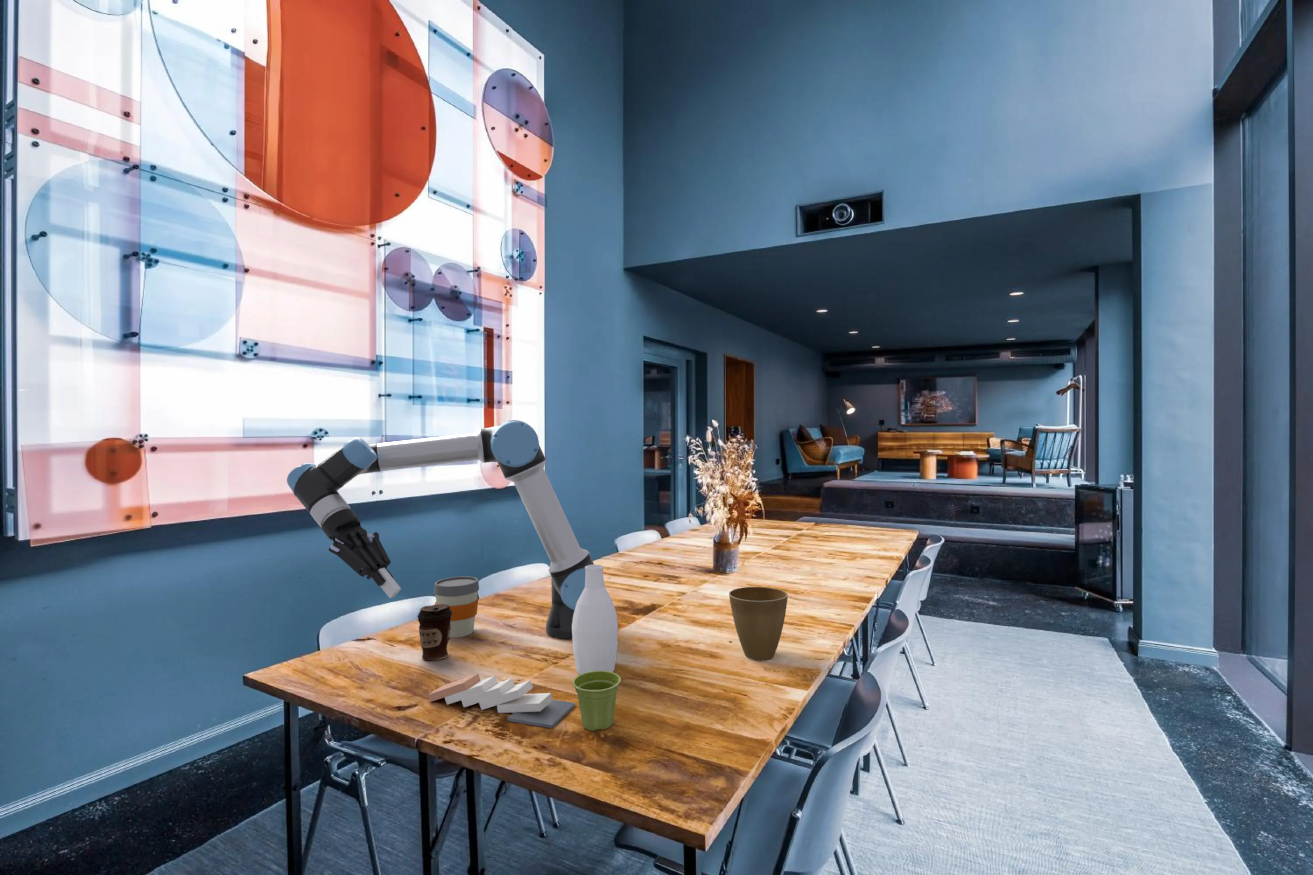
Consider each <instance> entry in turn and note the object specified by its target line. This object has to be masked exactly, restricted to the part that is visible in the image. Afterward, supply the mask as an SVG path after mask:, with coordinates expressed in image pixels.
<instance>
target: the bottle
mask: <svg viewBox="0 0 1313 875" xmlns="http://www.w3.org/2000/svg"><path fill="white" fill-rule="evenodd" d="M585 570H586V573H585V588H584V590H583V592H582V594H581V596H580V597H579V599H578V601H577V604H576V608H575V611H574V615H573V622H572V638H571V639H572V651H573V656H574V657H573V658H574V663H575V670H576V672H577V674H578V676H579V675H581V674H583V673H587V672H591V671H609V672H613V673H614V671H615V668H616V660H617V654H618V644H619V643H618V639H619V638H618V637H619V620H618V616H617V610H616V608H615V604H614V602H613V599H612V597H611V595H610V594H609V592H608V590H607V588H606V586H605V587H604V585H605V580H604V579H605V578H604V565H603V564H594V565H588V566H585Z"/></svg>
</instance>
